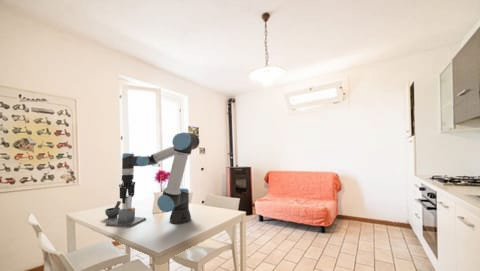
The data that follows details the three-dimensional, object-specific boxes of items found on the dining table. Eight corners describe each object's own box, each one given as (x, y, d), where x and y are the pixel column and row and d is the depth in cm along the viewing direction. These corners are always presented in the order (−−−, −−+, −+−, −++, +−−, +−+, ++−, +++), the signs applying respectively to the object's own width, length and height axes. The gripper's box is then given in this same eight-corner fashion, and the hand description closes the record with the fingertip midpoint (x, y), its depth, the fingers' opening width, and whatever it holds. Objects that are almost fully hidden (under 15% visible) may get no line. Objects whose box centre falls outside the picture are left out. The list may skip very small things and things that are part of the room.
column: (131, 219, 154) (131, 195, 155) (126, 221, 150) (127, 196, 151) (125, 218, 155) (126, 195, 156) (121, 220, 151) (121, 196, 152)
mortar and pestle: (110, 221, 156) (110, 204, 157) (102, 219, 160) (102, 203, 161) (124, 216, 166) (124, 201, 167) (116, 215, 170) (116, 200, 171)
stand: (146, 219, 158) (146, 205, 158) (130, 227, 142) (130, 211, 143) (123, 218, 162) (123, 204, 163) (105, 225, 147) (106, 210, 147)
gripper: (131, 173, 164) (131, 203, 162) (113, 175, 147) (113, 210, 145) (140, 173, 162) (139, 204, 160) (123, 175, 145) (122, 210, 144)
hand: (126, 206), depth 153 cm, fingers closed on column, 4 cm apart
